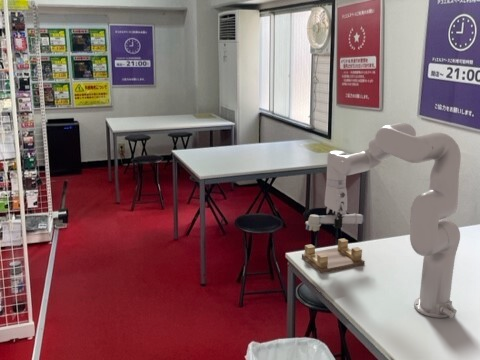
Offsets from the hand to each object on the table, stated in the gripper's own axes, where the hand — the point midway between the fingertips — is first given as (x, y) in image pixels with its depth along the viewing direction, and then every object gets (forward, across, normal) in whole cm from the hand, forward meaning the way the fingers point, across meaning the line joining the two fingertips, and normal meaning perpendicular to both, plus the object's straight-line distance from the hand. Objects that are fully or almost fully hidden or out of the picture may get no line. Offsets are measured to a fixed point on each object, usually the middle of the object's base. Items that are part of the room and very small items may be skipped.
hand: (334, 225), depth 206 cm
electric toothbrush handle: (+1, 0, 0) cm, 1 cm away
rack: (+16, 0, 0) cm, 16 cm away
